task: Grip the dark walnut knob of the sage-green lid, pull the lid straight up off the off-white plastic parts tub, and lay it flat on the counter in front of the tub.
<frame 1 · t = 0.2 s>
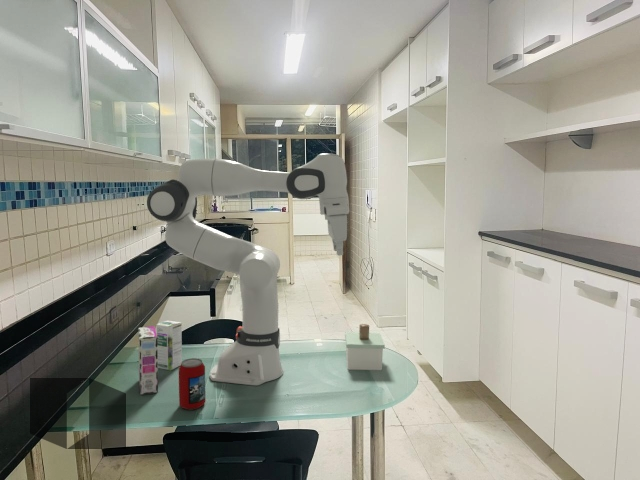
hand: (338, 252, 139), 39 cm above the table, tool pointing down, fingers open, 8 cm apart
syrup box: (169, 367, 148), on the table
lid: (363, 345, 150), point 7 cm above the table, touching tub
tub: (363, 365, 151), on the table
beverage can: (192, 405, 122), on the table
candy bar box: (148, 387, 133), on the table
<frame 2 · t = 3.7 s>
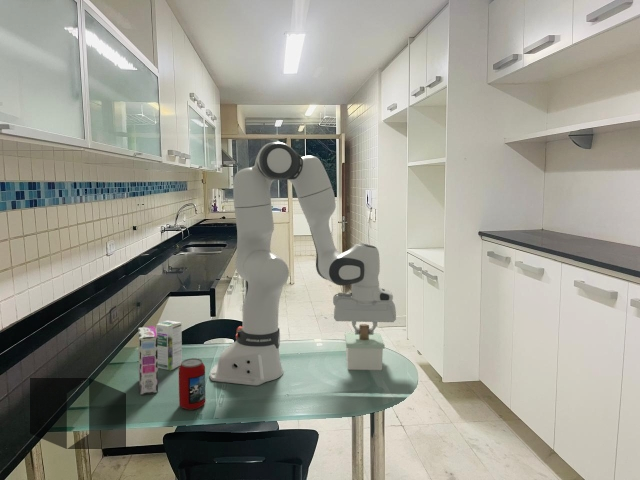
hand: (364, 334, 150), 11 cm above the table, tool pointing down, fingers closed on lid, 3 cm apart
lid: (363, 345, 150), point 7 cm above the table, touching gripper, tub
everything else where it was.
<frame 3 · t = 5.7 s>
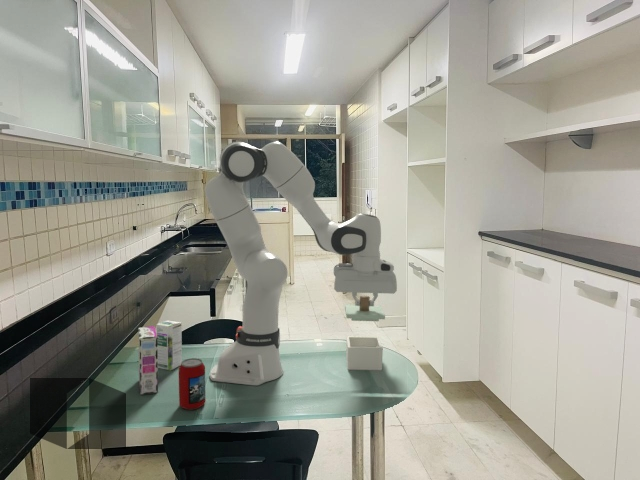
hand: (364, 305, 148), 20 cm above the table, tool pointing down, fingers closed on lid, 3 cm apart
lid: (363, 317, 149), point 16 cm above the table, touching gripper
everything else where it was.
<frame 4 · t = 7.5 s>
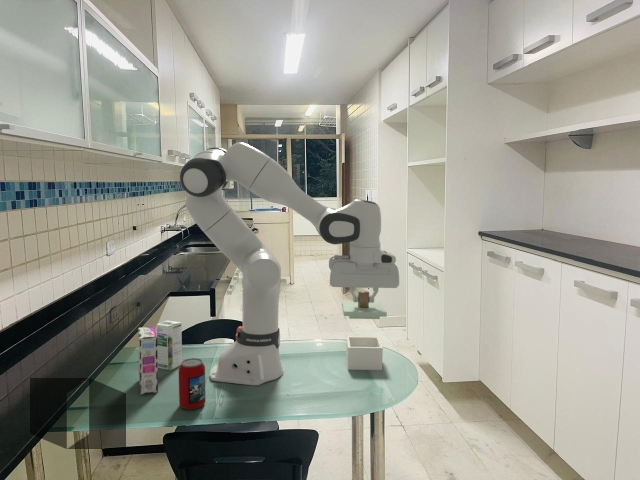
hand: (363, 302, 134), 25 cm above the table, tool pointing down, fingers closed on lid, 3 cm apart
lid: (363, 314, 134), point 21 cm above the table, touching gripper
everything else where it was.
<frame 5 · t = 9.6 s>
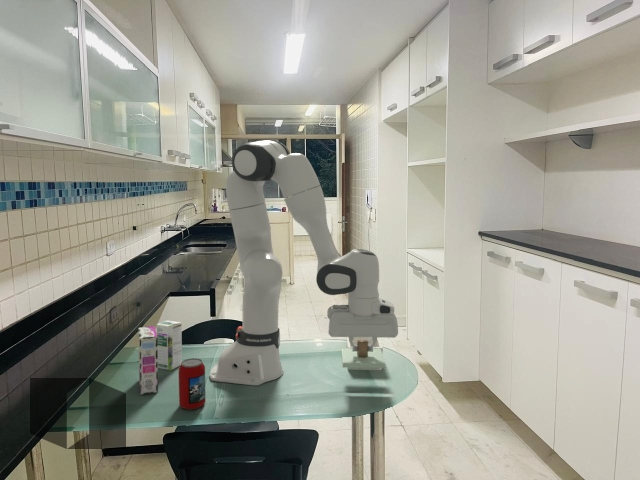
hand: (362, 351, 134), 11 cm above the table, tool pointing down, fingers closed on lid, 3 cm apart
lid: (362, 363, 134), point 7 cm above the table, touching gripper
everything else where it was.
when the fingers open (5 cm above the table, at t = 11.4 s): lid drops 1 cm, on the table.
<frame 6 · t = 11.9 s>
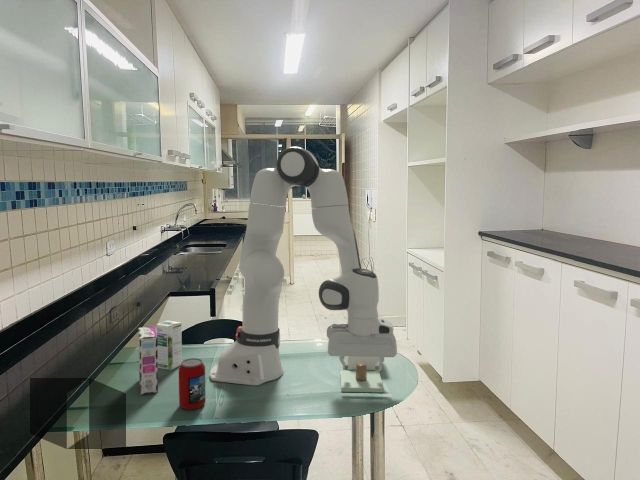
hand: (361, 370, 134), 5 cm above the table, tool pointing down, fingers open, 8 cm apart
lid: (360, 386, 135), on the table
everything else where it was.
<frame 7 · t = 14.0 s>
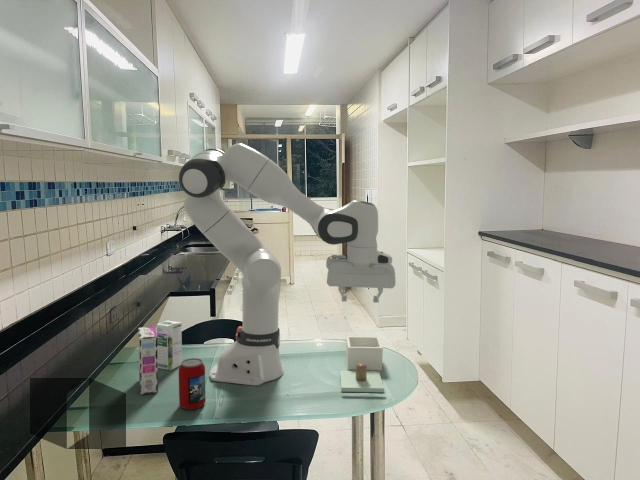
hand: (359, 301, 136), 25 cm above the table, tool pointing down, fingers open, 8 cm apart
nothing on the table moved.
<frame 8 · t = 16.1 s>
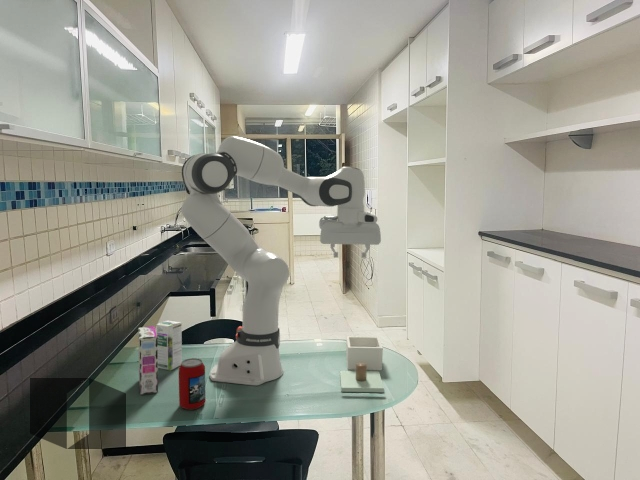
hand: (349, 257, 153), 35 cm above the table, tool pointing down, fingers open, 8 cm apart
nothing on the table moved.
at the end: lid touching table; lid inside the target area (0.1 cm from its centre), on the table; lid tilted 0° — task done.
